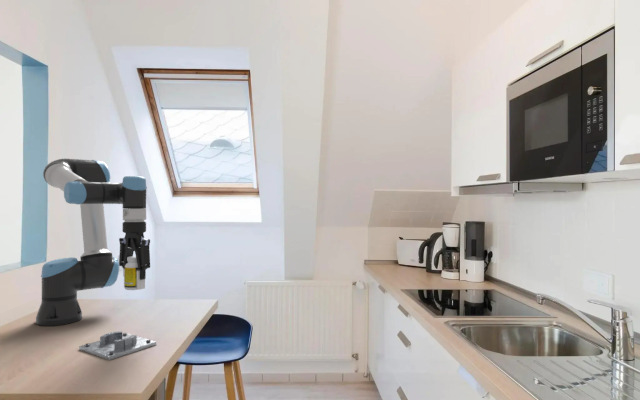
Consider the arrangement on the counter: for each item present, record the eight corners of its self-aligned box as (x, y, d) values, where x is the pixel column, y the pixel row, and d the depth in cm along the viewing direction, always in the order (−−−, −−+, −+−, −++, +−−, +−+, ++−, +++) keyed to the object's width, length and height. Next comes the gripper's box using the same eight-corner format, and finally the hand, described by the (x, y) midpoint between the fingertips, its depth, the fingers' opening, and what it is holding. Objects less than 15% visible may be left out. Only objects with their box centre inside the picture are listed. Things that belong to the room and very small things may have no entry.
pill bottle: (137, 290, 146) (137, 258, 146) (120, 290, 147) (120, 257, 147) (147, 287, 152) (147, 255, 152) (131, 286, 153) (131, 255, 153)
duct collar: (79, 349, 134) (79, 338, 134) (126, 335, 148) (126, 325, 148) (109, 360, 126) (109, 348, 126) (156, 344, 139) (156, 333, 139)
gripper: (107, 220, 151) (107, 286, 151) (143, 222, 141) (142, 292, 141) (126, 220, 157) (126, 283, 157) (162, 221, 147) (161, 288, 147)
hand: (134, 287), depth 149 cm, fingers closed on pill bottle, 6 cm apart
